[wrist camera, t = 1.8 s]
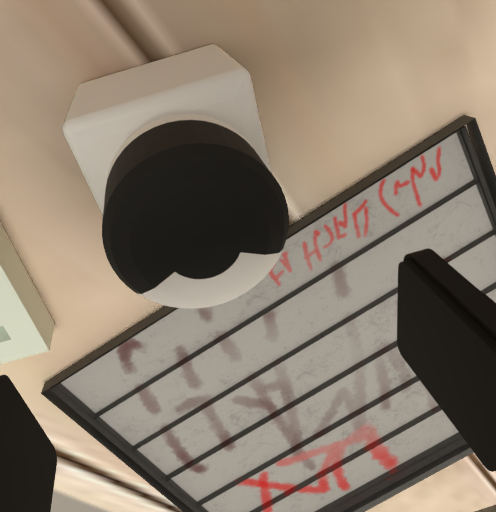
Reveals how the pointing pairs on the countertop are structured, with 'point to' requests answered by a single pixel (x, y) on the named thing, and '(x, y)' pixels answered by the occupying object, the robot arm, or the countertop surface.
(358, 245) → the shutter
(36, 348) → the pale green square tray
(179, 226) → the medicine bottle
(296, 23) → the countertop surface
